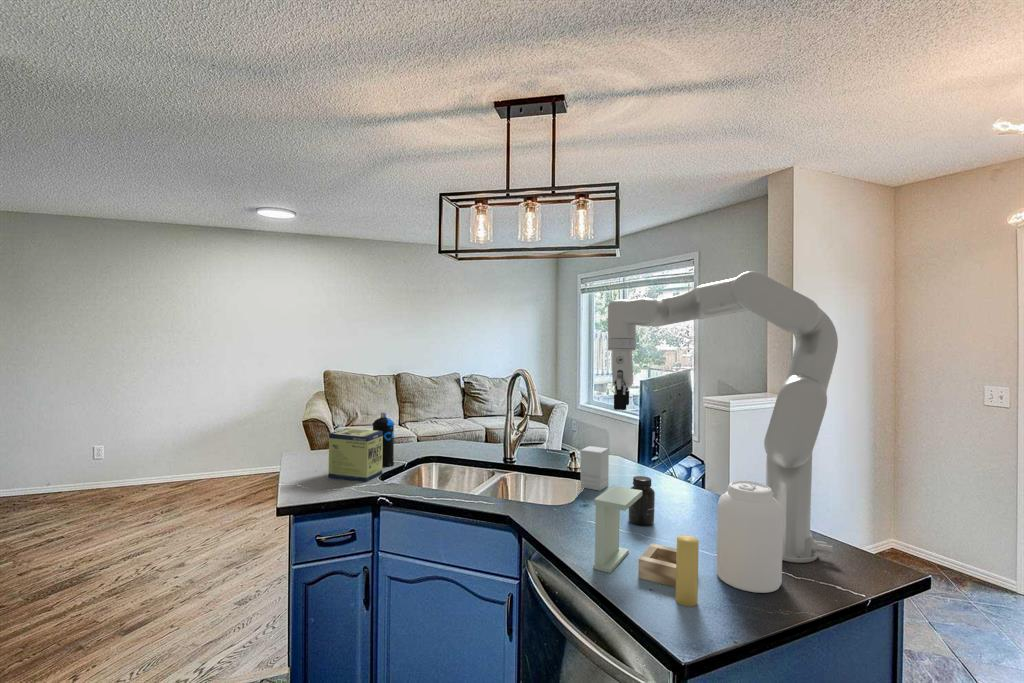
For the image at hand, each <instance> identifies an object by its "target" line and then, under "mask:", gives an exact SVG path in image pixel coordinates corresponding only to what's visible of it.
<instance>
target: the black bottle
mask: <svg viewBox="0 0 1024 683" xmlns="http://www.w3.org/2000/svg"><path fill="white" fill-rule="evenodd" d="M372 430H374V431H383V453H382V468H389V467H392V466H394V465H395V462H394V453H395V452H394V450H395V449H394V447H395V446H394V444H395V443H394V441H395V439H394V437H395V434H394V433H395V432H394V430H395V421H393V420H392V419H390V418H388V417H387V412H386V411H381V412H380V417H379V418H377V419H375V420H374V421H373V422H372Z"/></svg>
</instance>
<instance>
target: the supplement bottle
mask: <svg viewBox="0 0 1024 683" xmlns="http://www.w3.org/2000/svg"><path fill="white" fill-rule="evenodd" d="M632 485H633V486H631V487H630V488H631V489H636V490H642V496H641V497H640V498H639V499H638V500H637V501H636V502H635V503H634V504H632V505H631V506H630V507H629V508H628V521H629V523H631V524H633V525H636V526H641V527H649V526H652V525H653V524H654V523H655V507H656V506H655V503H656V502H655V501H656V493H655V490H654V489H653V487H652V478H651V477H649V476H645V475H636V476H633V479H632Z"/></svg>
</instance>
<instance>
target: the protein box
mask: <svg viewBox="0 0 1024 683" xmlns="http://www.w3.org/2000/svg"><path fill="white" fill-rule="evenodd" d="M382 453H383V431H374V430H373V429H372V430H371V429H362V428H361V429H357V428H350V427H349V428H344V429H340V430H337V431H333V432H330V433H328V478H329V479H337V480H346V481H348V480H349V481H355V482H356V481H357V482H364V483H367V482H369V481H371V480H373V479H375V478H377V477H379V476H381V475H383V467H382Z"/></svg>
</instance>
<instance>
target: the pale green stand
mask: <svg viewBox="0 0 1024 683" xmlns="http://www.w3.org/2000/svg"><path fill="white" fill-rule="evenodd" d="M641 496H642V490H636V489H631V487H624V486H619V485H612V486H611V487H610V488H607V489H606V490H605V491H604V492H602V493H601V494H599V495H598V496H596V497H595V498H594V499H593V505H594V506H595V523H594V524H595V529H594V533H595V534H594V539H595V540H594V563H593V564H592V569H595V570H598V571H602V572H606V573H609V574H611V573H612V572H613V571H614V570H615V569H616V568H617V567H618V565H619V564H621V562H622V561H624V559H625V557H626V556H628V554H629V553H630V552H629V551H630V549H629V548H624V547H621V546H620V518H621V517H620V515H621V514H620V512H621V511H623V512H626V511H628V510H629V507H630V506H631V505H632V504H634V503H635V502H636V501H637V500H638V499H639V498H640V497H641Z"/></svg>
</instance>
